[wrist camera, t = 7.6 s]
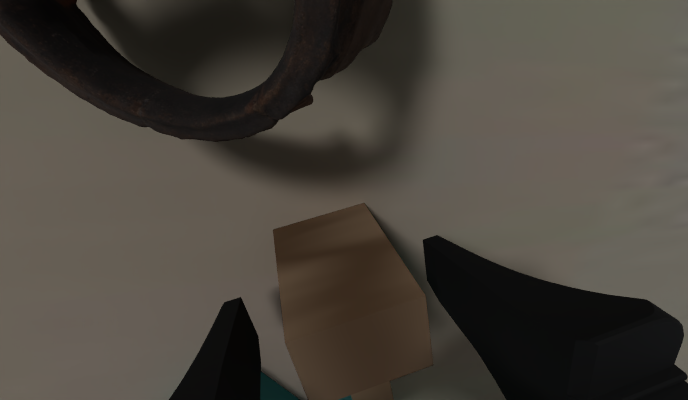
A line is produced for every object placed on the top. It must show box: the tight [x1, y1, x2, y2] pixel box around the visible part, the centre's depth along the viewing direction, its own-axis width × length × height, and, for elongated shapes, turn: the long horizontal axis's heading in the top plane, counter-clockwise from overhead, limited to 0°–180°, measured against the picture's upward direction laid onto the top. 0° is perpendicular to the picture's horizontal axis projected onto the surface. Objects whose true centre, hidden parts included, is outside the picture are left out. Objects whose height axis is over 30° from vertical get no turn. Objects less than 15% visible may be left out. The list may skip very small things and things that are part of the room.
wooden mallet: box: [273, 203, 433, 400], centre depth 14 cm, size 4×10×6 cm, turn 11°
